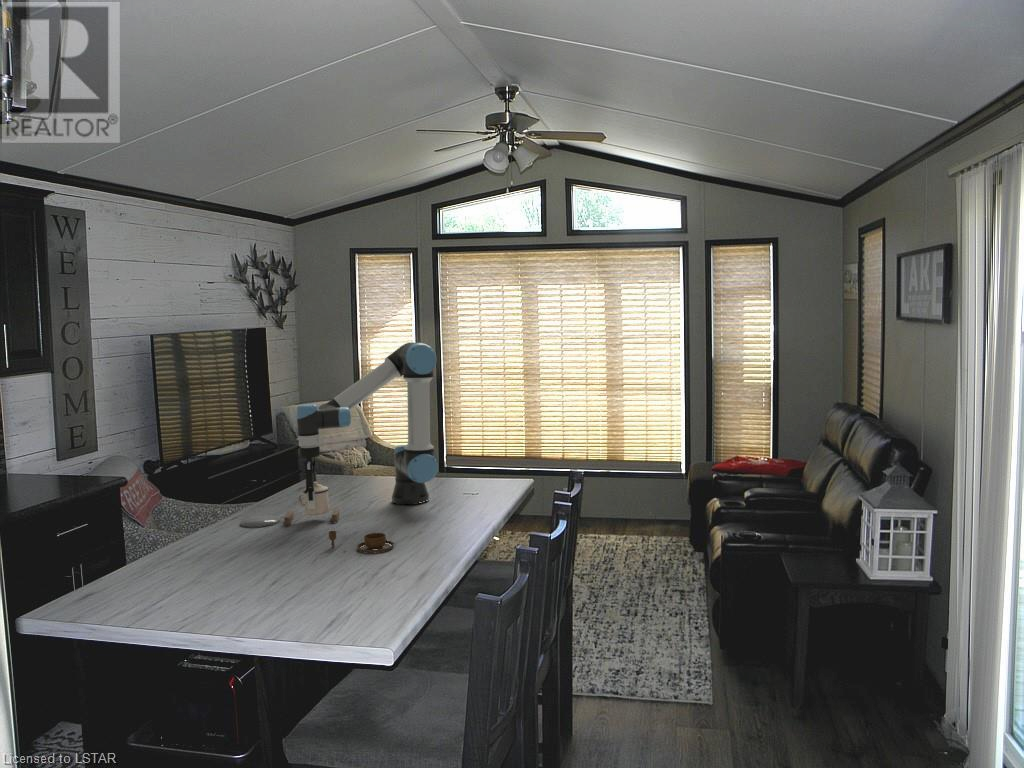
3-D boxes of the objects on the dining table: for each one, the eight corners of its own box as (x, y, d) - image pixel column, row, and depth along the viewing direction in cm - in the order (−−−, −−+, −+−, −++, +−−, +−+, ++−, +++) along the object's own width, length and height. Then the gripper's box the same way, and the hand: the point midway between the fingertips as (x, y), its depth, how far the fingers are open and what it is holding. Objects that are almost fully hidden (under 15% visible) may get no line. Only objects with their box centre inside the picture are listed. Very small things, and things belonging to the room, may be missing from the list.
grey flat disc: (282, 517, 318) (282, 514, 318) (277, 526, 304) (277, 523, 304) (244, 519, 316) (244, 516, 316) (237, 528, 302) (237, 525, 302)
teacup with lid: (333, 509, 315) (331, 479, 313) (323, 516, 306) (321, 484, 305) (304, 509, 317) (302, 479, 316) (293, 515, 308) (291, 484, 307)
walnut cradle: (339, 516, 317) (338, 508, 317) (337, 522, 307) (337, 514, 307) (287, 519, 315) (287, 511, 314) (284, 525, 305) (284, 517, 304)
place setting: (367, 559, 262) (366, 541, 261) (325, 550, 274) (324, 532, 273) (407, 546, 275) (406, 529, 275) (365, 537, 288) (364, 521, 287)
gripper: (301, 442, 319) (305, 500, 321) (295, 451, 297) (299, 513, 299) (321, 441, 320) (325, 498, 322) (317, 450, 298) (320, 512, 300)
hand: (312, 505), depth 311 cm, fingers closed on teacup with lid, 9 cm apart
